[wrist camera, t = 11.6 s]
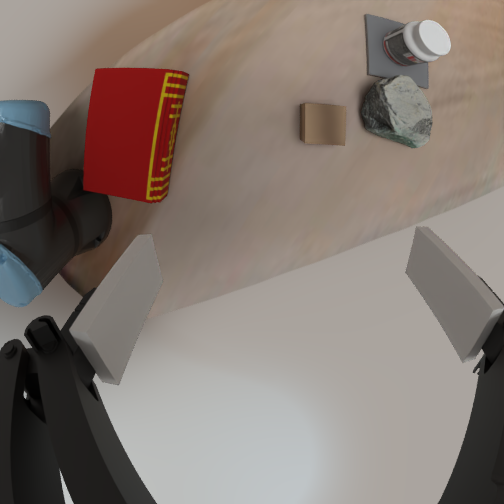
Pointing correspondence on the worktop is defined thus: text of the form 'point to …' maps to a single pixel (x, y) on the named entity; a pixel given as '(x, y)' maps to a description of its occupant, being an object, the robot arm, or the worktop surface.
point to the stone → (398, 111)
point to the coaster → (379, 59)
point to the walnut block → (322, 124)
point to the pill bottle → (416, 43)
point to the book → (132, 131)
